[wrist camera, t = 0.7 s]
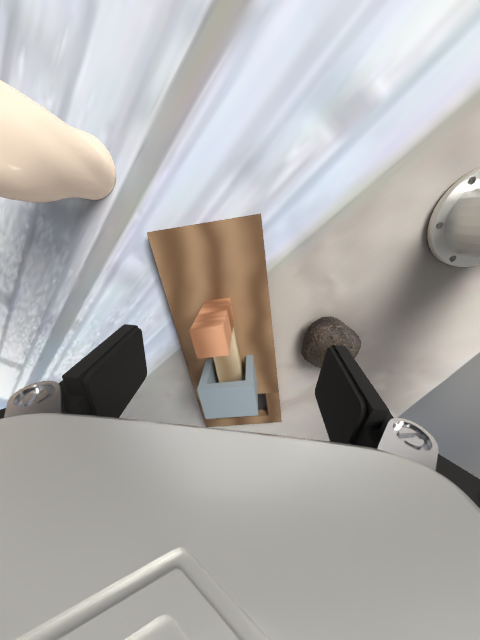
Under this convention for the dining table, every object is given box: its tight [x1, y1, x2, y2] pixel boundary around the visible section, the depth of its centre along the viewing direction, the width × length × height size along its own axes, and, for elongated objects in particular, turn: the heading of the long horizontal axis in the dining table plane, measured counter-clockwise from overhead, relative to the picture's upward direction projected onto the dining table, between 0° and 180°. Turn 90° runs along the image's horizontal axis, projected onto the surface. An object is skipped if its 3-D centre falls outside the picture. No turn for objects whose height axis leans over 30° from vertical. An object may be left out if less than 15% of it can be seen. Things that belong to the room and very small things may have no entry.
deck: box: [147, 214, 282, 427], centre depth 39 cm, size 16×39×2 cm, turn 8°
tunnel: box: [197, 355, 258, 419], centre depth 37 cm, size 8×6×8 cm
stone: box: [302, 317, 361, 368], centre depth 37 cm, size 10×8×10 cm
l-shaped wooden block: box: [189, 298, 245, 383], centre depth 34 cm, size 4×18×10 cm, turn 8°
